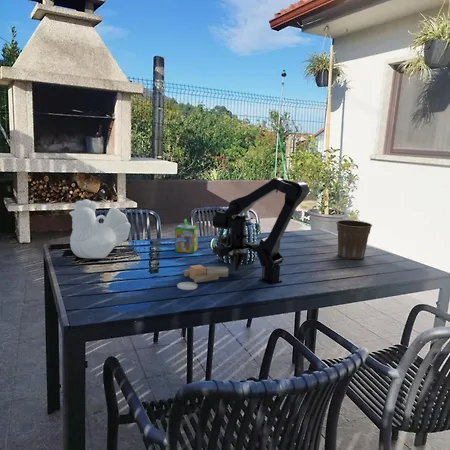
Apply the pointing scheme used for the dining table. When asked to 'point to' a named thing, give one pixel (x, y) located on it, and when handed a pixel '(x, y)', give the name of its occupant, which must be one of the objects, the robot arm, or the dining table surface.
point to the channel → (202, 276)
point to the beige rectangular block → (218, 271)
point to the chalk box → (186, 238)
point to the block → (197, 270)
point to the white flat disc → (187, 285)
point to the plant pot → (352, 238)
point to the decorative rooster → (96, 230)
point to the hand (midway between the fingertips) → (235, 270)
